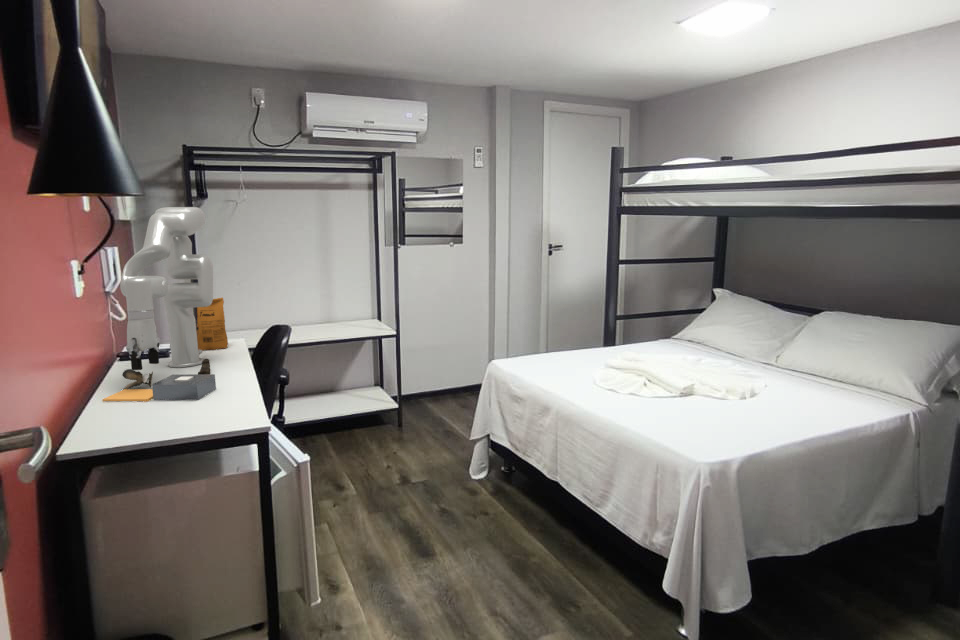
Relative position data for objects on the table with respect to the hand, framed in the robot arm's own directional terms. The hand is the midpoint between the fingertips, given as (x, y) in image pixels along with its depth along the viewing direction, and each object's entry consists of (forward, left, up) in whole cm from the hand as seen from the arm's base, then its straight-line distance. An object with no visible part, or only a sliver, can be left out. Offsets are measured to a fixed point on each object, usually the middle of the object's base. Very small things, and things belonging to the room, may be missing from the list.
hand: (145, 366), depth 195 cm
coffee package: (-62, -7, -7) cm, 63 cm away
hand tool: (-16, +11, -8) cm, 21 cm away
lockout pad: (+10, +2, -7) cm, 13 cm away
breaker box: (+8, +17, -7) cm, 20 cm away
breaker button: (+8, +17, -6) cm, 20 cm away
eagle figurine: (+1, -3, -8) cm, 8 cm away
